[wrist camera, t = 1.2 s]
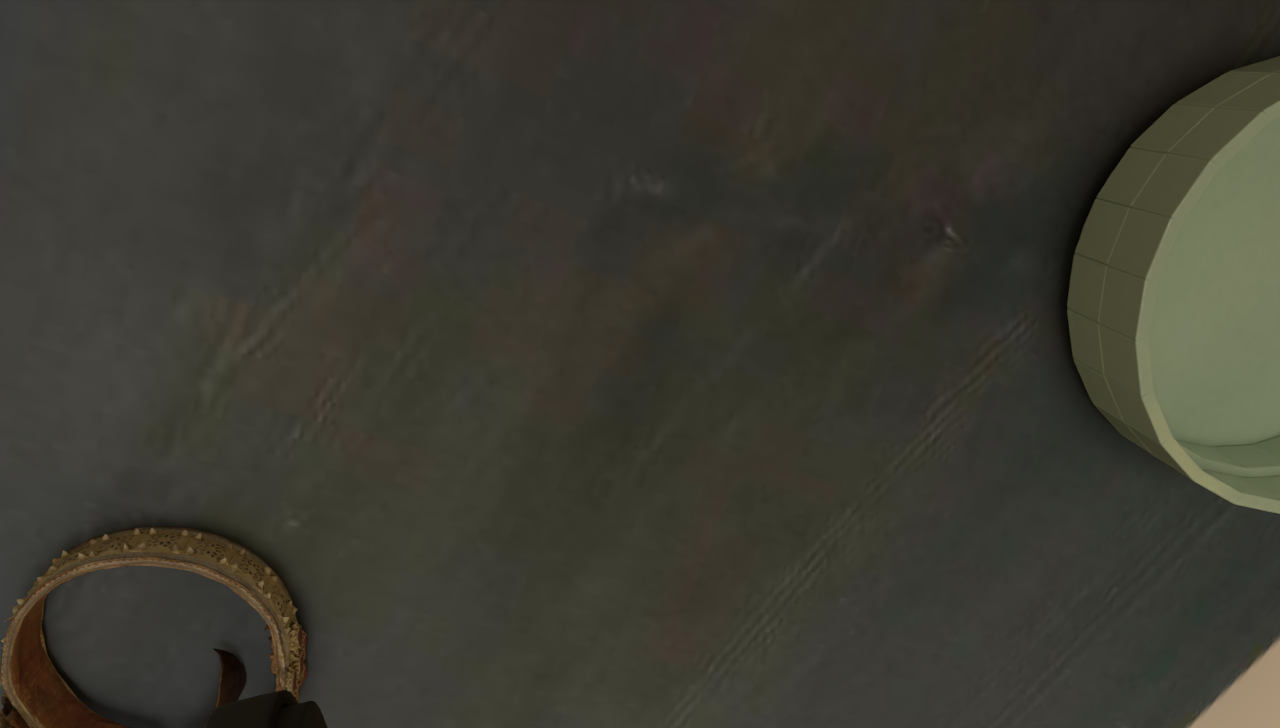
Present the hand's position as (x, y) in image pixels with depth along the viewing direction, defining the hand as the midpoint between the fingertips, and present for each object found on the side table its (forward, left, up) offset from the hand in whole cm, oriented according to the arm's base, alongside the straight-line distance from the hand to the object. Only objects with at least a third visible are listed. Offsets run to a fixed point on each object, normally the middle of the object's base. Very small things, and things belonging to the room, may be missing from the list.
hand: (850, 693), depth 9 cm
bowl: (-9, +18, -20) cm, 28 cm away
